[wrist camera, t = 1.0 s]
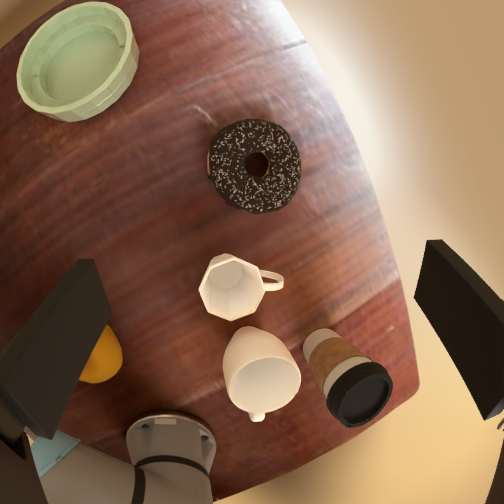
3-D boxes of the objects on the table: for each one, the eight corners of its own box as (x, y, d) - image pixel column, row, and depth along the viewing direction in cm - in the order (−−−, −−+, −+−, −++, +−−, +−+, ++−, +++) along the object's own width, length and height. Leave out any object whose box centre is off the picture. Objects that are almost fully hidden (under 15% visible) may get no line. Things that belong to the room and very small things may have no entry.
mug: (217, 312, 40) (228, 357, 29) (278, 311, 42) (306, 352, 31) (217, 384, 42) (226, 437, 31) (271, 381, 44) (292, 430, 33)
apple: (141, 337, 39) (131, 373, 30) (102, 369, 39) (87, 407, 30) (96, 289, 36) (73, 316, 28) (59, 326, 36) (34, 356, 27)
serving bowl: (112, 132, 33) (99, 123, 27) (21, 113, 29) (0, 105, 23) (157, 30, 31) (153, 8, 25) (65, 19, 27) (51, 1, 21)
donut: (268, 108, 36) (276, 100, 32) (310, 188, 39) (323, 188, 35) (190, 148, 35) (190, 143, 31) (237, 230, 38) (242, 235, 34)
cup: (197, 241, 38) (199, 255, 30) (275, 244, 40) (296, 258, 32) (196, 295, 39) (198, 321, 31) (271, 295, 41) (289, 320, 33)
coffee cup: (284, 359, 44) (320, 424, 29) (313, 312, 43) (365, 365, 28) (326, 373, 46) (369, 432, 31) (354, 330, 45) (409, 380, 31)
